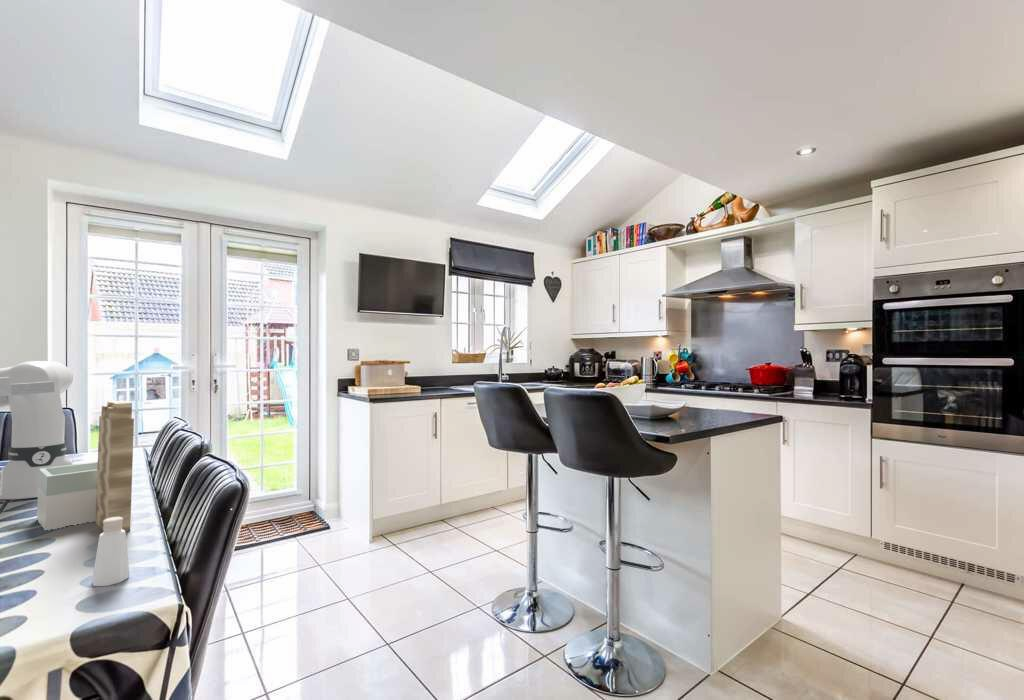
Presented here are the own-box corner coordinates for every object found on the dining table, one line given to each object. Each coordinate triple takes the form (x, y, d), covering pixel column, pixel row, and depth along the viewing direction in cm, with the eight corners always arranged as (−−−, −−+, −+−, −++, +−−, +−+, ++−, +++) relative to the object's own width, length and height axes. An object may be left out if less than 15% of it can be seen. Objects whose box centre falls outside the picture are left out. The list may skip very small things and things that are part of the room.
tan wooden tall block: (95, 523, 114) (99, 401, 114) (116, 519, 117) (120, 400, 118) (108, 535, 106) (112, 404, 107) (130, 530, 109) (134, 403, 110)
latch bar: (-18, 396, 102) (-20, 378, 102) (51, 391, 111) (51, 374, 111) (-16, 397, 100) (-17, 379, 100) (55, 392, 109) (54, 374, 108)
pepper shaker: (85, 589, 81) (87, 525, 82) (98, 576, 86) (100, 515, 87) (124, 583, 84) (126, 521, 84) (134, 571, 89) (136, 512, 89)
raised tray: (36, 519, 116) (38, 468, 116) (117, 505, 128) (118, 459, 128) (45, 531, 108) (47, 476, 109) (129, 514, 120) (131, 465, 121)
